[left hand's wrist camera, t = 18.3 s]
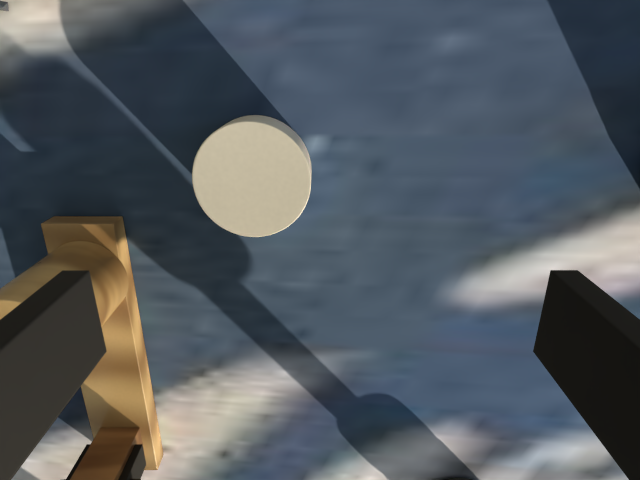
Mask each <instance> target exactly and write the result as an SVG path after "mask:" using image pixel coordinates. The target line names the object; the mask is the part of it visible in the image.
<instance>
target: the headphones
mask: <svg viewBox="0 0 640 480" xmlns="http://www.w3.org/2000/svg"><path fill="white" fill-rule="evenodd" d="M448 480H472V479H467V478H452V479H448Z"/></svg>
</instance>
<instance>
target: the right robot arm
mask: <svg viewBox="0 0 640 480" xmlns="http://www.w3.org/2000/svg"><path fill="white" fill-rule="evenodd" d="M89 446H90V445H86V447H85V449H84V450H83V452H82V454H81V455H80V457H79V459H78V460H77V462H76V464H75V465H74V467H73V469H72V470H71V472H70V474H69V475H68V477H67V479H66V480H70V479H71V477H72V475H73V474H74V472H75V470H76V468H77V467H78V465H79V463H80V462H81V460H82V458H83V457H84V455H85V453H86V452H87V450H88V448H89ZM145 466H146V460H145V454H144V449H143V444H135V445H134V448H133V450H132V452H131V454H130V456H129V458H128V460H127V462H126V465H125V467H124V469H123V471H122V473H121V475H120V477H119V479H118V480H141V479H140V478H141V476H142V474H143V471H144V469H145Z"/></svg>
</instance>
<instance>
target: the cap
mask: <svg viewBox="0 0 640 480" xmlns="http://www.w3.org/2000/svg"><path fill="white" fill-rule="evenodd" d="M192 182H193V188H194V192H195V195H196V198H197V200H198V202H199V204H200V206H201V207H202V209H203V210H204V212H205V213H206V214H207V215H208V216H209V217H210V218H211V219H212V220H213V221H214V222H215V223H216V224H218V225H219V226H220V227H222V228H224V229H225V230H228V231H230V232H232V233H235V234H238V235H242V236H249V237H261V236H267V235H271V234H274V233H277V232H279V231H281V230H283V229H285V228H286V227H288V226H289V225H291V224H292V223H293V222H294V221H295V220H296V219H297V218H298V217H299V216H300V214H301V213H302V211H303V210H304V208H305V206H306V204H307V201H308V198H309V195H310V190H311V162H310V157H309V154H308V151H307V149H306V147H305V145H304V143H303V141H302V140H301V138H300V137H299V136H298V135H297V134H296V132H295V131H293V130H292V129H291V128H290V127H289V126H287V125H286V124H284V123H283V122H281V121H279V120H277V119H274V118H271V117H267V116H262V115H248V116H243V117H239V118H236V119H234V120H232V121H230V122H228V123H226V124H225V125H223V126H222V127H220V128H219V129H218V130H216V131H215V132H213V133H212V134H211V135H210V136H209V137H208V138H207V139H206V140H205V141H204V142H203V144H202V145H201V146H200V148H199V150H198V152H197V154H196V157H195V159H194V164H193V170H192Z"/></svg>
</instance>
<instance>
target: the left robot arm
mask: <svg viewBox="0 0 640 480" xmlns="http://www.w3.org/2000/svg"><path fill="white" fill-rule="evenodd" d="M106 352H107V350H106V345H105V341H104V336H103V332H102V327H101V322H100V318H99V313H98V308H97V304H96V299H95V295H94V290H93V285H92V281H91V276H90V271H89V270H62V271H61V272H60V273H59V274H57V275H56V276H55V277H53V278H52V279H51V280H50V281H48V282H47V283H46V284H45V285H43V286H42V287H41V288H40V289H38V290H37V291H36V292H35V293H33V294H32V295H31V296H30V297H28V298H27V299H26V300H24V301H23V302H22V303H21V304H19V305H18V306H17V307H16V308H14V309H13V310H12V311H11V312H9V313H8V314H7V315H6V316H4V317H3V318H2V319H1V320H0V480H11V479H12V478H13V476H14V475H15V473H16V472H17V471H18V469H19V468H20V467H21V465H22V464H23V463H24V461H25V460H26V459H27V457H28V456H29V455H30V453H31V452H32V451H33V449H34V448H35V447H36V445H37V444H38V443H39V441H40V440H41V439H42V437H43V436H44V435H45V433H46V432H47V431H48V429H49V428H50V427H51V425H52V424H53V423H54V421H55V420H56V419H57V417H58V416H59V415H60V413H61V412H62V411H63V409H64V408H65V407H66V405H67V404H68V403H69V401H70V400H71V399H72V397H73V396H74V395H75V393H76V392H77V391H78V389H79V388H80V387H81V385H82V384H83V383H84V381H85V380H86V378H87V377H88V376H89V374H90V373H91V372H92V370H93V369H94V368H95V366H96V365H97V364H98V362H99V361H100V360H101V358H102V357H103V356H104V354H105V353H106ZM533 352H534V353H535V354H536V356H537V357H538V358H539V360H540V361H541V362H542V364H543V365H544V366H545V368H546V369H547V370H548V372H549V373H550V374H551V376H552V377H553V378H554V380H555V381H556V383H557V384H558V385H559V387H560V388H561V389H562V391H563V392H564V393H565V395H566V396H567V397H568V399H569V400H570V401H571V403H572V404H573V405H574V407H575V408H576V409H577V411H578V412H579V413H580V415H581V416H582V417H583V419H584V420H585V421H586V423H587V424H588V425H589V427H590V428H591V429H592V431H593V432H594V433H595V435H596V436H597V437H598V439H599V440H600V441H601V443H602V444H603V445H604V447H605V448H606V449H607V451H608V452H609V453H610V455H611V456H612V457H613V459H614V460H615V461H616V463H617V464H618V465H619V467H620V468H621V469H622V471H623V472H624V473H625V475H626V476H627V478H628V479H629V480H640V320H639V319H638V318H637V317H636V316H634V315H633V314H632V313H631V312H629V311H628V310H627V309H626V308H624V307H623V306H622V305H621V304H619V303H618V302H617V301H616V300H614V299H613V298H612V297H610V296H609V295H608V294H607V293H605V292H604V291H603V290H602V289H600V288H599V287H598V286H597V285H595V284H594V283H593V282H592V281H590V280H589V279H588V278H587V277H585V276H584V275H583V274H581V273H580V272H579V271H578V270H551V271H550V276H549V281H548V285H547V290H546V295H545V299H544V304H543V308H542V313H541V318H540V322H539V327H538V332H537V336H536V341H535V345H534V350H533Z"/></svg>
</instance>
